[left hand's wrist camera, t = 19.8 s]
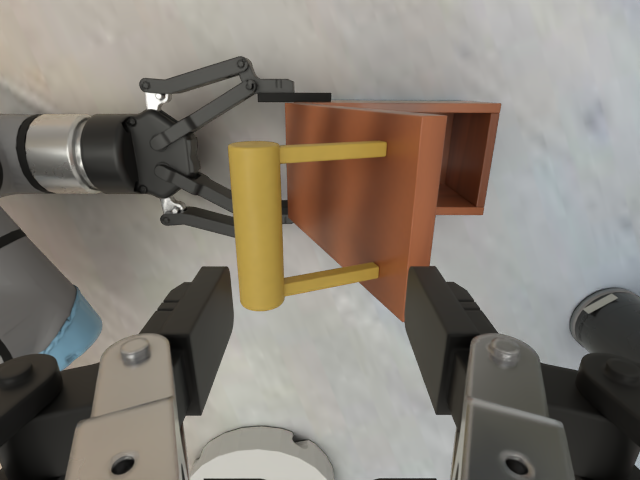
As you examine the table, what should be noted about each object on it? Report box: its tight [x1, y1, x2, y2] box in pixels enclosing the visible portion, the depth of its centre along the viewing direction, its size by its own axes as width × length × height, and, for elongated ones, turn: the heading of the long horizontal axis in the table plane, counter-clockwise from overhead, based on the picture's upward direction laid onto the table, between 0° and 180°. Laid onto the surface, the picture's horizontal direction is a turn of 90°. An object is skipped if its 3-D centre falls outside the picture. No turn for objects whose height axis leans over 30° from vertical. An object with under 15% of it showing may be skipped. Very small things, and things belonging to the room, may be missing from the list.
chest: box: [294, 100, 501, 215], centre depth 39 cm, size 18×10×10 cm, turn 90°
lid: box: [228, 103, 447, 322], centre depth 24 cm, size 18×10×9 cm
